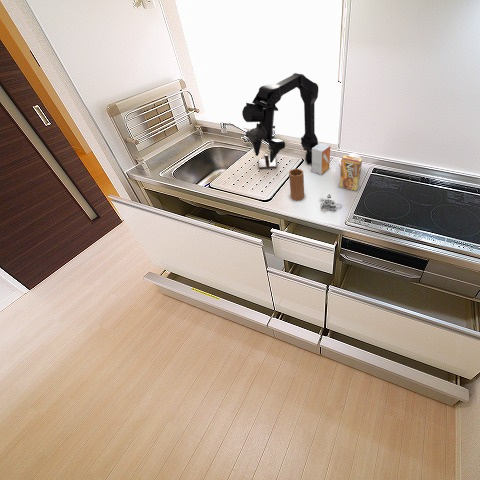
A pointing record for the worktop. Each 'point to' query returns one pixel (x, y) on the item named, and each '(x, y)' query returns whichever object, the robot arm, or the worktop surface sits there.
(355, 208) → the worktop surface
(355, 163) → the candy box
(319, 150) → the small box
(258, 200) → the worktop surface
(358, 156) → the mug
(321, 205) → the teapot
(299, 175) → the brown hollow cylinder
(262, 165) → the holder
